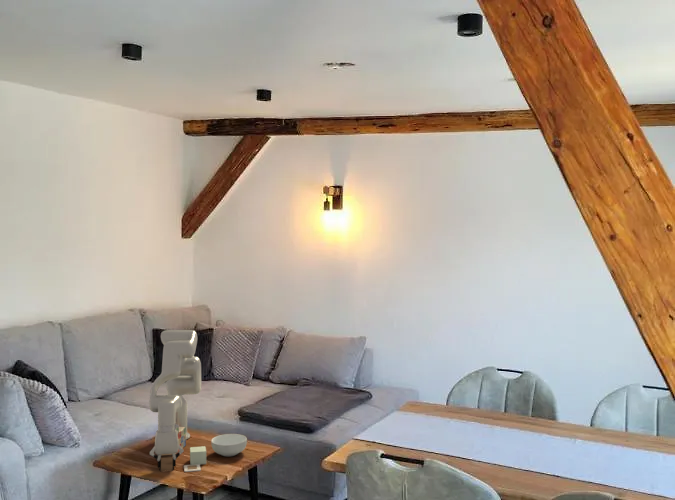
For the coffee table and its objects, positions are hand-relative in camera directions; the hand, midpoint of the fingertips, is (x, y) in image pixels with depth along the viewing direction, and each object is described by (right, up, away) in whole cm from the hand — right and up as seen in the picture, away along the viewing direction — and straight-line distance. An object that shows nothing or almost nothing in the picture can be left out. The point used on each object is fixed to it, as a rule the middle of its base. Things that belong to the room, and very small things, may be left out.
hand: (166, 468), depth 292 cm
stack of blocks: (-3, 0, +22) cm, 23 cm away
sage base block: (+12, -1, +10) cm, 15 cm away
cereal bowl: (+24, 0, +21) cm, 32 cm away
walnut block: (0, -1, 0) cm, 1 cm away
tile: (+11, -1, +1) cm, 11 cm away
